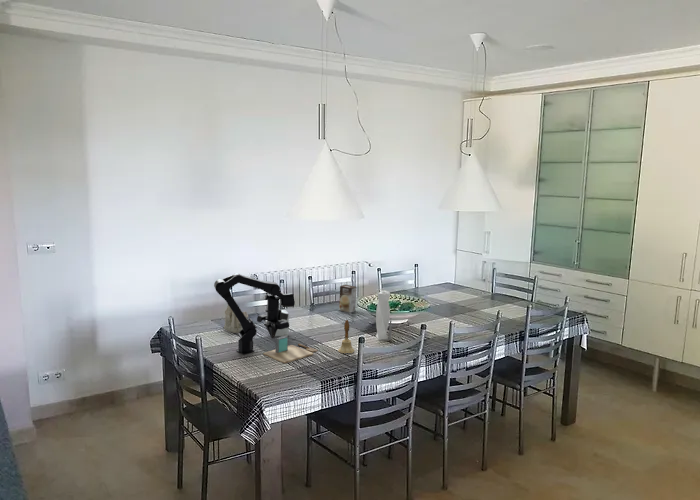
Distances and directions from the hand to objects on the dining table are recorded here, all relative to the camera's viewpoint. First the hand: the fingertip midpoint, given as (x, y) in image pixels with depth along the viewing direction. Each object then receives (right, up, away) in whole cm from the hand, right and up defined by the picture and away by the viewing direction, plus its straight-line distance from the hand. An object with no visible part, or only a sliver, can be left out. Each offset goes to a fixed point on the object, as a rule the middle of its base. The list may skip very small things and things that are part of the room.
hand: (272, 338), depth 265 cm
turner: (+16, -6, +4) cm, 18 cm away
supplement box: (+1, -2, +25) cm, 25 cm away
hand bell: (+37, -7, +2) cm, 37 cm away
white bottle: (+56, -5, +24) cm, 61 cm away
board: (+8, -7, -6) cm, 12 cm away
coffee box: (+37, +5, +77) cm, 85 cm away
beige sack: (-24, 0, +33) cm, 41 cm away
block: (+5, -6, -4) cm, 8 cm away
